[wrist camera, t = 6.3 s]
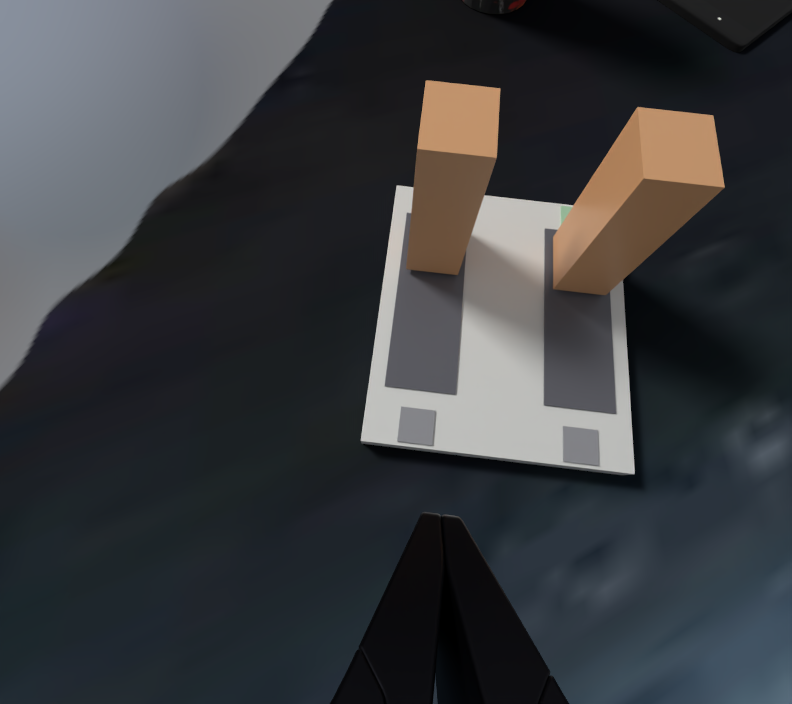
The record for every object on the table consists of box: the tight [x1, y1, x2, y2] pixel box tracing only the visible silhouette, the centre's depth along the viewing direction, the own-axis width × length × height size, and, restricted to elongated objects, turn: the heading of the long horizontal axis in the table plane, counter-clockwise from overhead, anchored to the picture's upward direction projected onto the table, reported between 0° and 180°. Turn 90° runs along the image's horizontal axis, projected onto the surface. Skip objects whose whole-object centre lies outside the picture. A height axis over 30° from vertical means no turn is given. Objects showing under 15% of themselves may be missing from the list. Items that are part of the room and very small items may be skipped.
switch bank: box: [361, 186, 635, 475], centre depth 25 cm, size 16×14×1 cm
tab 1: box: [406, 80, 500, 275], centre depth 21 cm, size 4×3×9 cm
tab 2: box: [553, 107, 725, 295], centre depth 21 cm, size 4×3×9 cm
